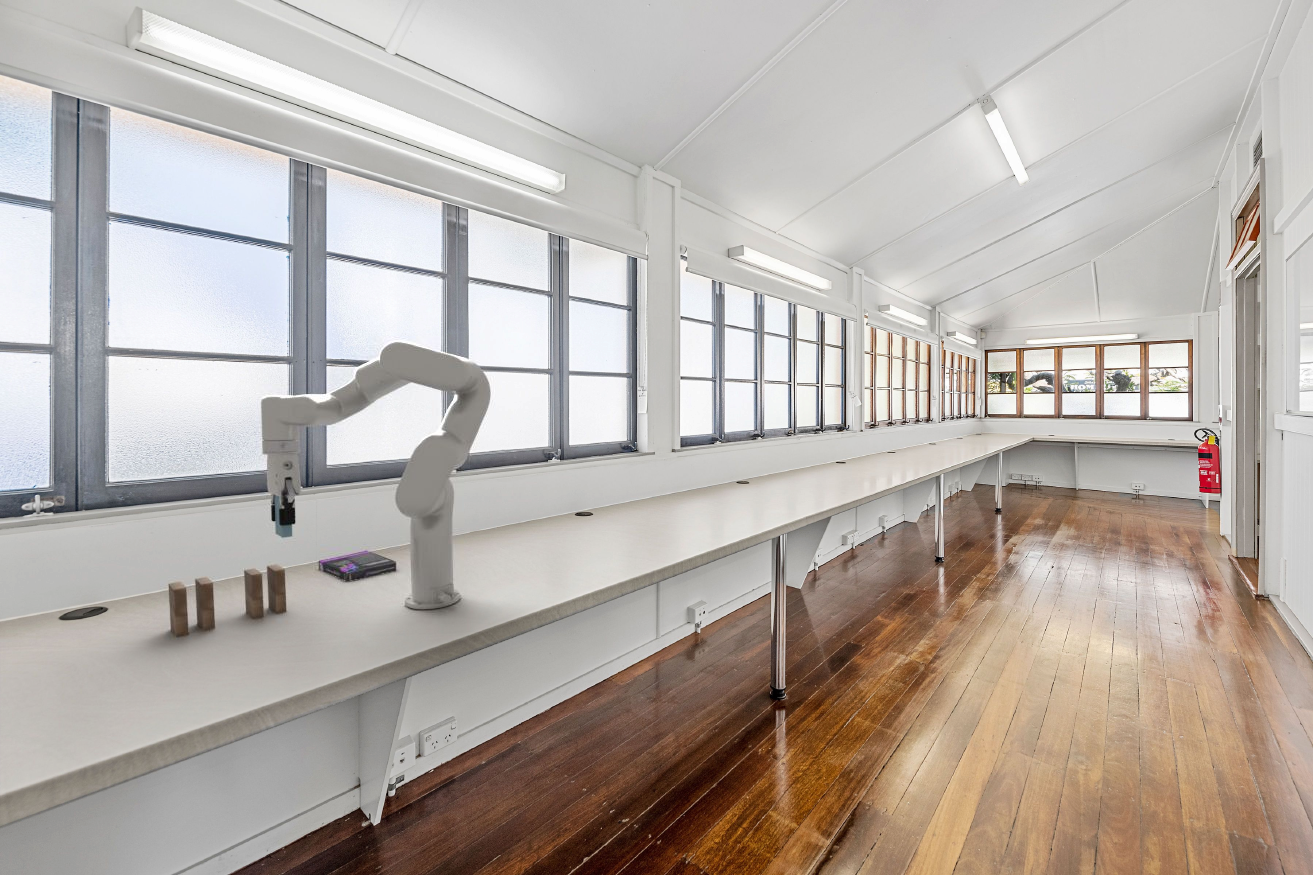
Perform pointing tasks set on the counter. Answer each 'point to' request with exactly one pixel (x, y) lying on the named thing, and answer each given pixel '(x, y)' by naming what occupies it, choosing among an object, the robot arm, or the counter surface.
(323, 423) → the robot arm
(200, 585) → the domino
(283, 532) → the domino
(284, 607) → the domino
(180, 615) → the domino
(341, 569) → the box
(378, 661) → the counter surface
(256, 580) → the domino
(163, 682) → the counter surface
